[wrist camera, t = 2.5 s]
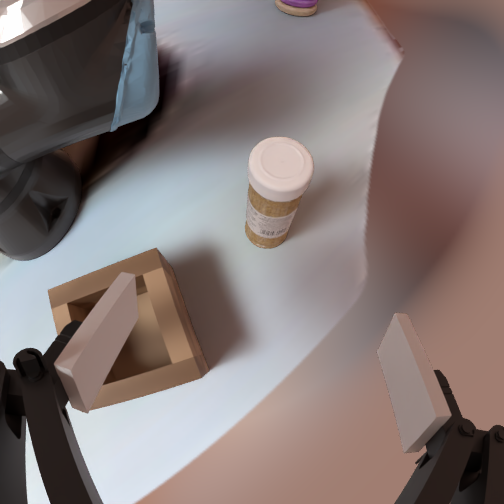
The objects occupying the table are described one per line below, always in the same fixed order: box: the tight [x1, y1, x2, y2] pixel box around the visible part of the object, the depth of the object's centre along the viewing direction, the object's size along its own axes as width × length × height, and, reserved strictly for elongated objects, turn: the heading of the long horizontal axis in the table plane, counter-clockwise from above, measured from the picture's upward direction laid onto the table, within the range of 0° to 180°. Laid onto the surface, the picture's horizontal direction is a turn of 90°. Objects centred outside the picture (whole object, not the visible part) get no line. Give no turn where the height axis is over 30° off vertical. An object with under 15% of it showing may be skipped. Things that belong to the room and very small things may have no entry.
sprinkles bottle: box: [245, 137, 314, 248], centre depth 28 cm, size 5×5×14 cm
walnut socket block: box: [48, 248, 209, 410], centre depth 27 cm, size 11×11×7 cm
